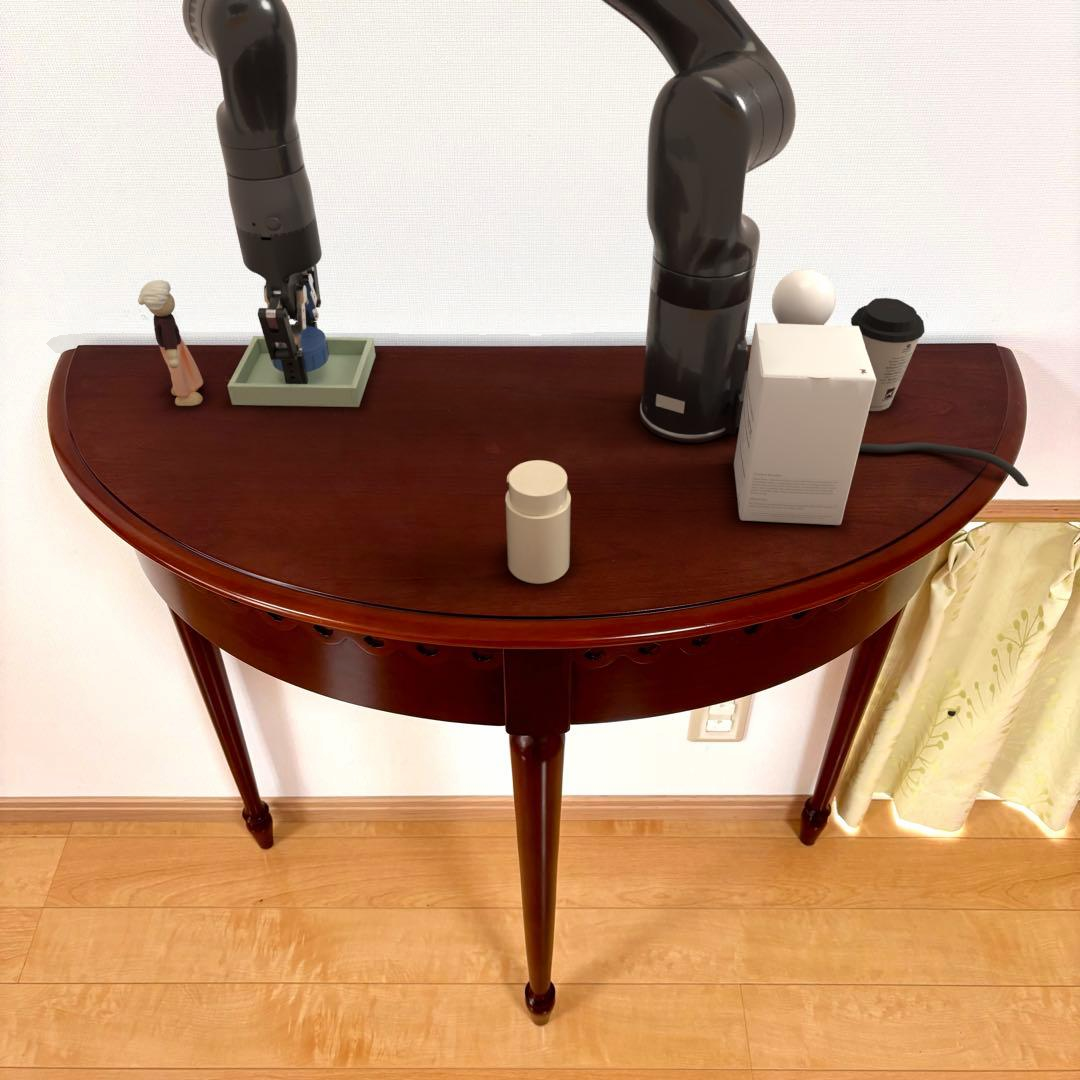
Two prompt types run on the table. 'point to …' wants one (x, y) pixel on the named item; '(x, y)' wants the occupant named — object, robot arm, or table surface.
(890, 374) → the coffee cup
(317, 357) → the lid
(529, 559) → the jar
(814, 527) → the table surface
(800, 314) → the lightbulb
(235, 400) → the tray
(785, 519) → the rectangular carton
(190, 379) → the grandmother figurine
